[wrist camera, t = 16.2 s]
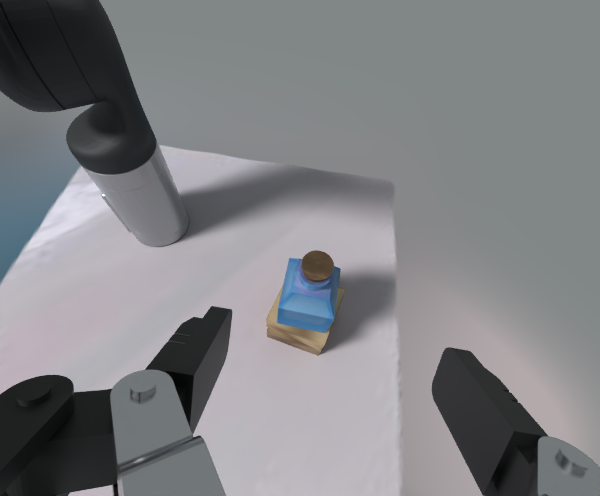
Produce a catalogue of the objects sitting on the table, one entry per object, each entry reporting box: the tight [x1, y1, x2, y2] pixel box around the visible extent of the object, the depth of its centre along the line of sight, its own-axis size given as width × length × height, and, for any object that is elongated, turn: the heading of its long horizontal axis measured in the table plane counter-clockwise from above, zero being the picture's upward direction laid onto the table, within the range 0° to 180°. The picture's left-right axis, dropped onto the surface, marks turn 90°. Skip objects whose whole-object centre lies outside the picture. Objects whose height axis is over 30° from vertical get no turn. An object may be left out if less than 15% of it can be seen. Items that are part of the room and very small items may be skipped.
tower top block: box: [267, 286, 345, 351], centre depth 41 cm, size 8×8×4 cm
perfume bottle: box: [277, 251, 340, 333], centre depth 34 cm, size 6×6×12 cm
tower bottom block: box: [267, 327, 323, 355], centre depth 44 cm, size 8×8×4 cm
